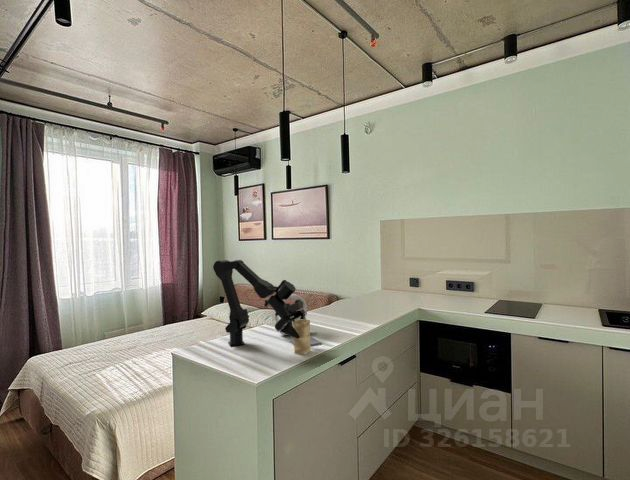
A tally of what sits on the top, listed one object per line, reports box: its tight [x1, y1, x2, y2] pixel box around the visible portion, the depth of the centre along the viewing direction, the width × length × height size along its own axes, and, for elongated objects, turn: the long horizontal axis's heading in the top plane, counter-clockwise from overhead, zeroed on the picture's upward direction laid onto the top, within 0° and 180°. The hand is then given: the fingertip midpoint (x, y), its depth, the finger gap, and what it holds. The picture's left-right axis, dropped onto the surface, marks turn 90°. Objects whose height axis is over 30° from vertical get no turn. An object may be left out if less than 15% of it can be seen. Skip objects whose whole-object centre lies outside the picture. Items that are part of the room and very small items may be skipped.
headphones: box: [273, 293, 308, 336], centre depth 163 cm, size 18×10×20 cm, turn 126°
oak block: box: [293, 319, 311, 355], centre depth 136 cm, size 5×5×13 cm
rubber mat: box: [289, 335, 322, 347], centre depth 148 cm, size 11×11×1 cm
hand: (303, 334), depth 136 cm, fingers open, 9 cm apart
